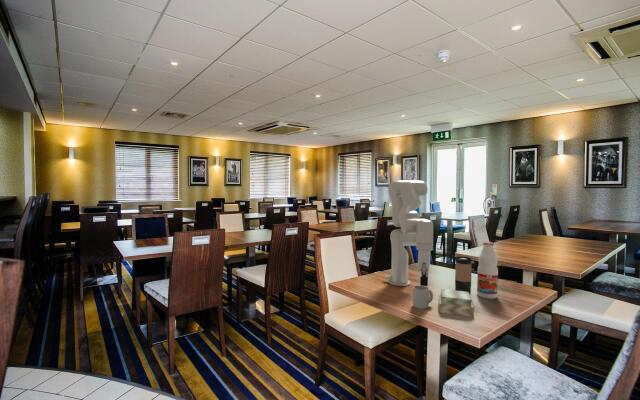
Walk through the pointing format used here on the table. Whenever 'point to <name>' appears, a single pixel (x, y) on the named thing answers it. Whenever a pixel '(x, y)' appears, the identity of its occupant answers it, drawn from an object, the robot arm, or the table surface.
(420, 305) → the cup
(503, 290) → the table surface
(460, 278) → the travel mug
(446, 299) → the camouflage patterned box
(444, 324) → the table surface
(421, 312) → the table surface
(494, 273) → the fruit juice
